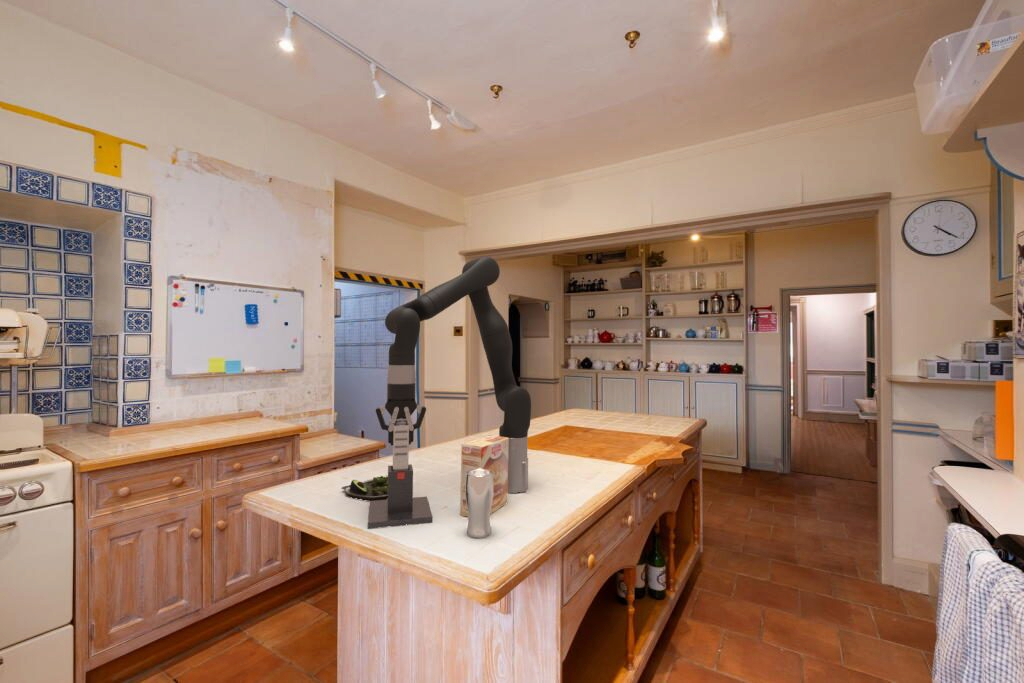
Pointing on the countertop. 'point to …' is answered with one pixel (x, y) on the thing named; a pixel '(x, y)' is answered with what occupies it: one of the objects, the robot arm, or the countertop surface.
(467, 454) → the coffeecake box
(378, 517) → the stand
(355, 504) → the countertop surface
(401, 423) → the column
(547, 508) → the countertop surface
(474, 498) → the beer glass
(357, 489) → the salad plate
